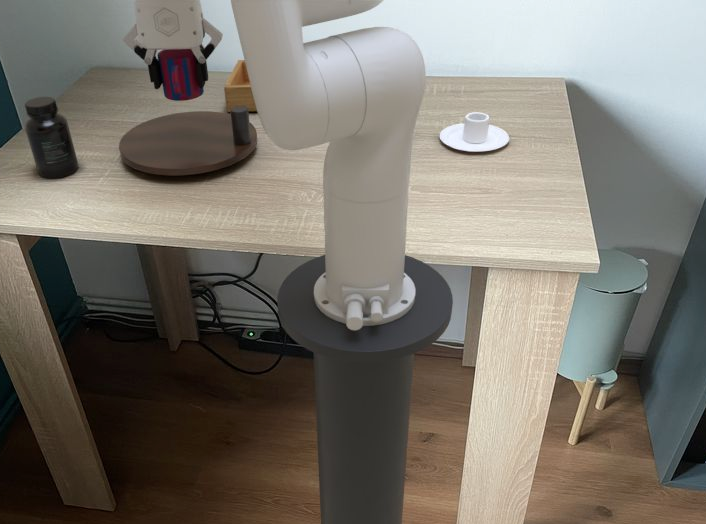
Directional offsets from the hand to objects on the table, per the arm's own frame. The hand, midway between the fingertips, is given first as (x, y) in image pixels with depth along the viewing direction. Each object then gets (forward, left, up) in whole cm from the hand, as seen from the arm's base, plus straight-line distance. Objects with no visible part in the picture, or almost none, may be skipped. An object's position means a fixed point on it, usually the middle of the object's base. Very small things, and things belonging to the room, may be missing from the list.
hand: (180, 84), depth 121 cm
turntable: (0, 0, -10) cm, 10 cm away
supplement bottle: (-6, +22, -12) cm, 26 cm away
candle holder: (+3, -50, -12) cm, 52 cm away
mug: (0, 0, -2) cm, 2 cm away
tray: (+24, -20, -12) cm, 34 cm away
